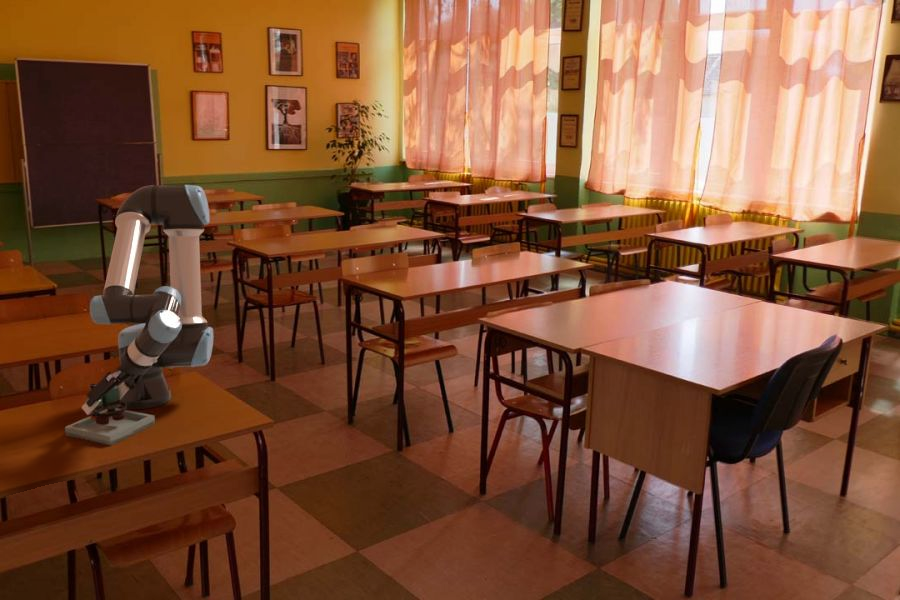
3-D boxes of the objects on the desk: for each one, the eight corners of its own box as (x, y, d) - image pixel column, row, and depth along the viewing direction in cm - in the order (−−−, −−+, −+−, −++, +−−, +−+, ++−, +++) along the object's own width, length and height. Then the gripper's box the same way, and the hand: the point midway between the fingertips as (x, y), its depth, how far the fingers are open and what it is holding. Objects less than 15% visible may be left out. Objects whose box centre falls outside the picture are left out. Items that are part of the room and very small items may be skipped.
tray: (111, 415, 225) (110, 407, 225) (155, 423, 220) (154, 415, 219) (65, 435, 211) (64, 427, 210) (111, 445, 205) (110, 436, 205)
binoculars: (100, 394, 205) (81, 383, 211) (102, 431, 208) (83, 418, 214) (132, 386, 212) (113, 375, 218) (134, 421, 215) (114, 409, 221)
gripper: (117, 379, 195) (75, 429, 204) (178, 355, 215) (138, 402, 224) (98, 356, 196) (58, 407, 205) (161, 334, 216) (122, 382, 225)
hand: (100, 404), depth 215 cm, fingers closed on binoculars, 9 cm apart
